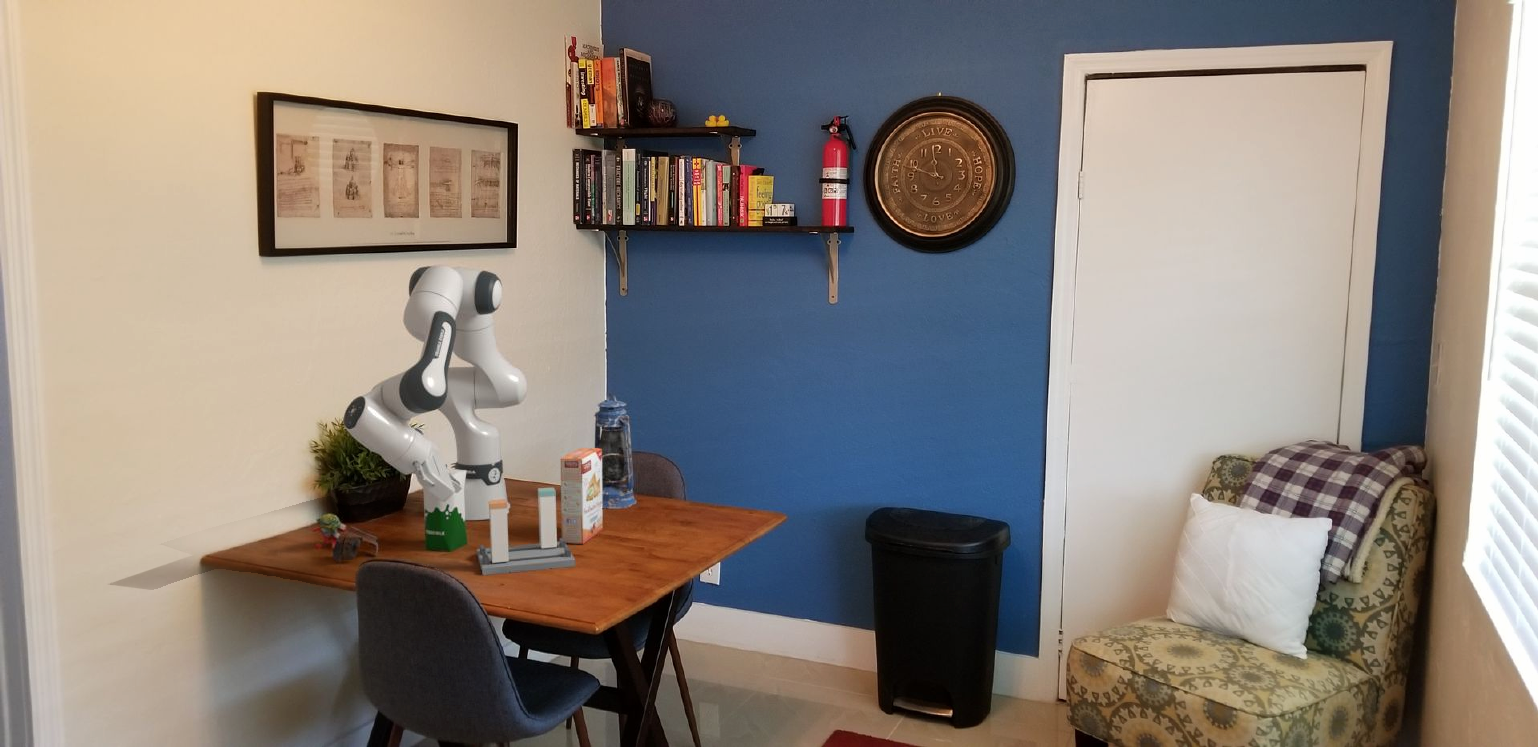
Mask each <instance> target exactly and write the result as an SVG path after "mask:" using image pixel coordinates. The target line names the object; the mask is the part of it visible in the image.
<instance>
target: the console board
mask: <svg viewBox="0 0 1538 747" xmlns="http://www.w3.org/2000/svg"><path fill="white" fill-rule="evenodd" d="M558 539H559V540H558V541H557V547H551V548H541V546H540V542H539V543H530V544H518V545H508V554H509V561H506V562H496V563H492V560H491V547H487V548H486V546H485V544H480V545H479V548H476V556H477V559H478V563H479V566H480V570H482V571H481V574H482V576H486V575H487V576H488V575H499V574H510V573H509V572H511V573H520V572H529V571H530V572H531V571H539V570H550V568H552V569H561V568H570V567H572V568H573V567H576V559H575V557H574V555H573V554H572V550H571V548H570V546H568V545H567V543H566V541H565V539H564V538H562V537H560V538H558Z"/></svg>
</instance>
